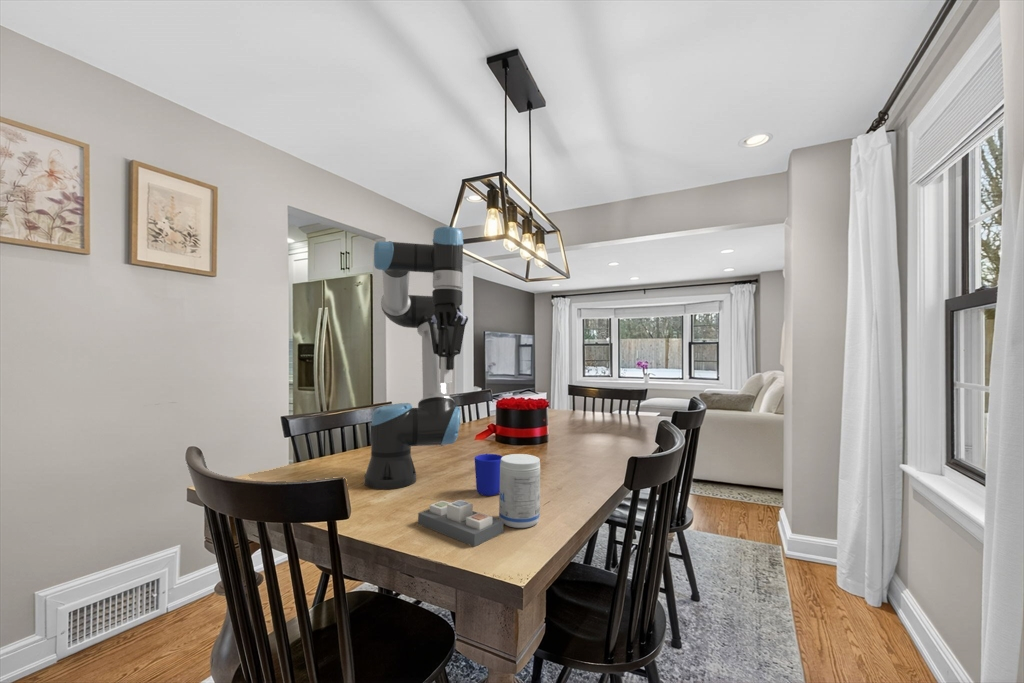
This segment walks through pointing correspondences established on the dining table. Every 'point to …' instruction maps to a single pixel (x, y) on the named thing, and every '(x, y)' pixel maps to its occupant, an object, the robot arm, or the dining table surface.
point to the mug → (488, 474)
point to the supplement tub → (519, 490)
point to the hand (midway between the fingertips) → (446, 382)
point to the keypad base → (460, 528)
